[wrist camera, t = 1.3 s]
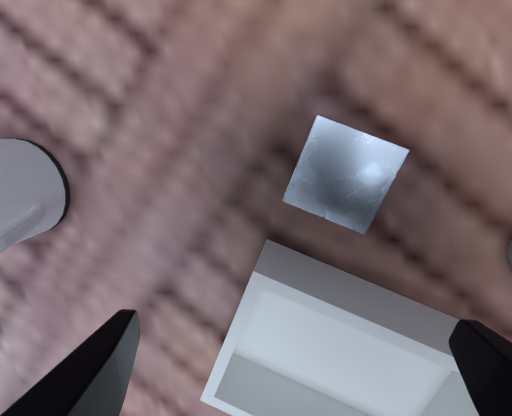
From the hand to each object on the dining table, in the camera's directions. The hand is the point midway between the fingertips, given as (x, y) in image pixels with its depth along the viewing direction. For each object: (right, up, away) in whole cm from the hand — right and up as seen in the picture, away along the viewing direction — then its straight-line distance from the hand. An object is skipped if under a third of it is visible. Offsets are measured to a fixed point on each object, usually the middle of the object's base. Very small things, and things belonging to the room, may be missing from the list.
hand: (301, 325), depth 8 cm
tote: (+6, -7, +16) cm, 18 cm away
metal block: (+4, +6, +13) cm, 15 cm away
